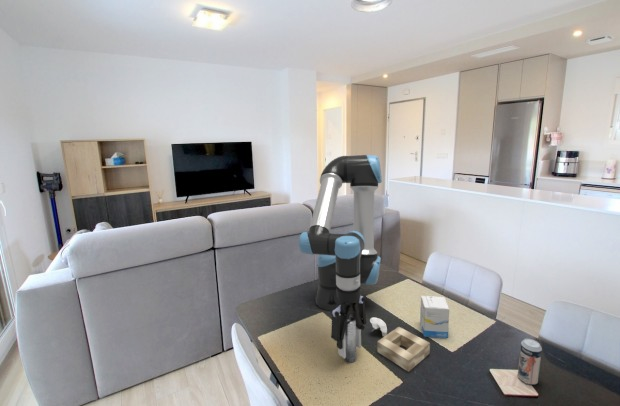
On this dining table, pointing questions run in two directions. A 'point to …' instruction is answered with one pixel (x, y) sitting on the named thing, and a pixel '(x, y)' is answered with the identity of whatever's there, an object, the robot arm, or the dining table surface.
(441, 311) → the ink box
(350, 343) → the peg
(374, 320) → the white coral lump
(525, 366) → the beer can
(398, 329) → the socket block
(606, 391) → the dining table surface
